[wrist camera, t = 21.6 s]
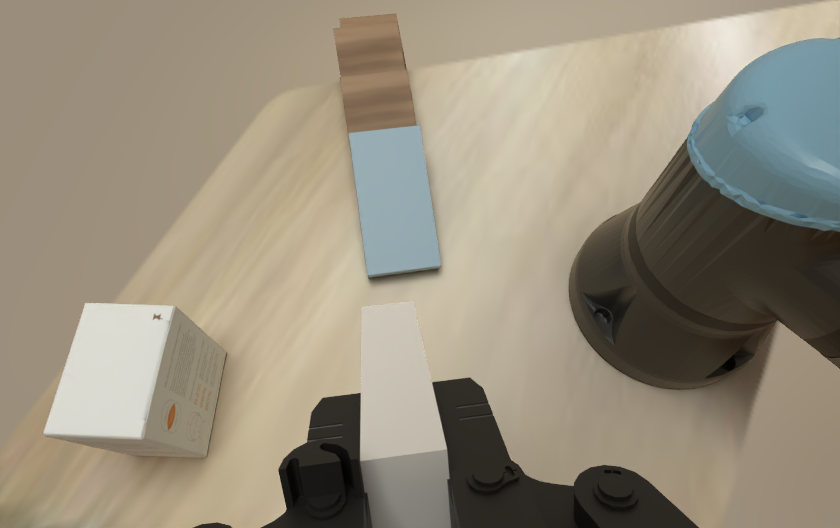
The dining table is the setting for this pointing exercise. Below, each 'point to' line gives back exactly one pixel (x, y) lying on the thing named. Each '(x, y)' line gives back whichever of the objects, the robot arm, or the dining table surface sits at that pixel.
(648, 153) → the dining table surface
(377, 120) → the domino
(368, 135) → the blue domino
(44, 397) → the dining table surface
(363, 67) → the domino
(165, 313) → the small box
